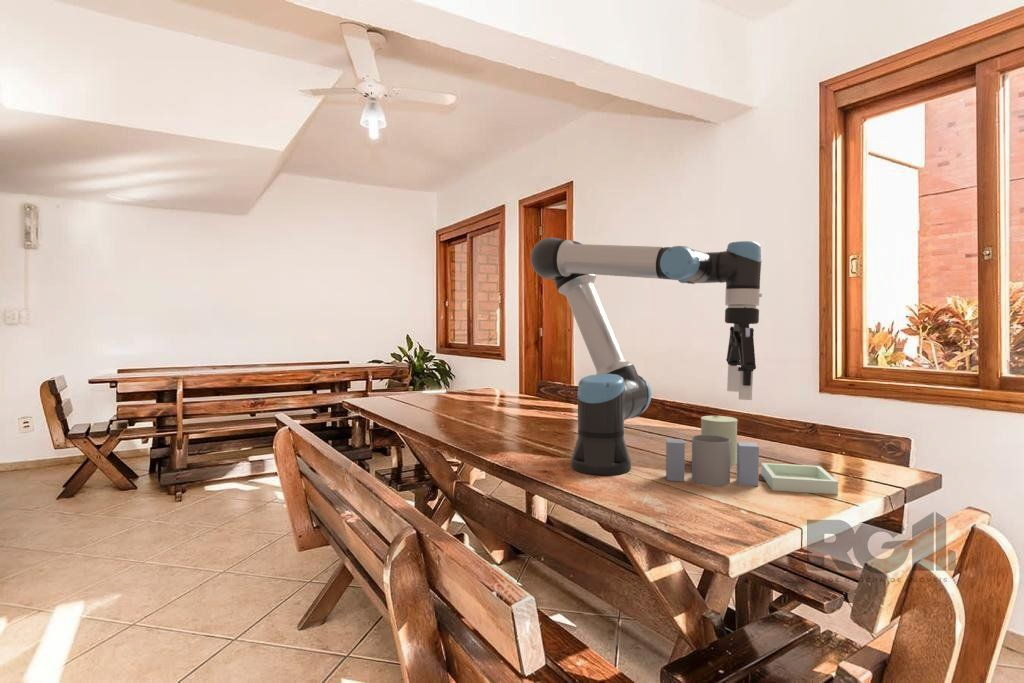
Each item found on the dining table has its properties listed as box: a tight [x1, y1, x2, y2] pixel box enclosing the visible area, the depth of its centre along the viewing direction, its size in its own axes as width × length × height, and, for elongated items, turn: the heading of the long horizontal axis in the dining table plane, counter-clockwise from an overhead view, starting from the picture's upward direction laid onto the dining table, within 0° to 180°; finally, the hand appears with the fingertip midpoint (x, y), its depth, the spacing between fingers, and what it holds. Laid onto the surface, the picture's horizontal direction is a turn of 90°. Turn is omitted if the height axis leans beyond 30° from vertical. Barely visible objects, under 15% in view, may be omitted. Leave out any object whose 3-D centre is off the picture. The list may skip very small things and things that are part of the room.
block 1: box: [665, 438, 686, 482], centre depth 131 cm, size 4×4×9 cm
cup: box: [691, 434, 731, 487], centre depth 129 cm, size 8×8×10 cm
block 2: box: [736, 441, 760, 487], centre depth 128 cm, size 4×4×9 cm
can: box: [700, 415, 738, 467], centre depth 147 cm, size 9×9×12 cm
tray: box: [760, 462, 839, 495], centre depth 127 cm, size 13×13×3 cm
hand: (738, 395), depth 134 cm, fingers open, 13 cm apart
